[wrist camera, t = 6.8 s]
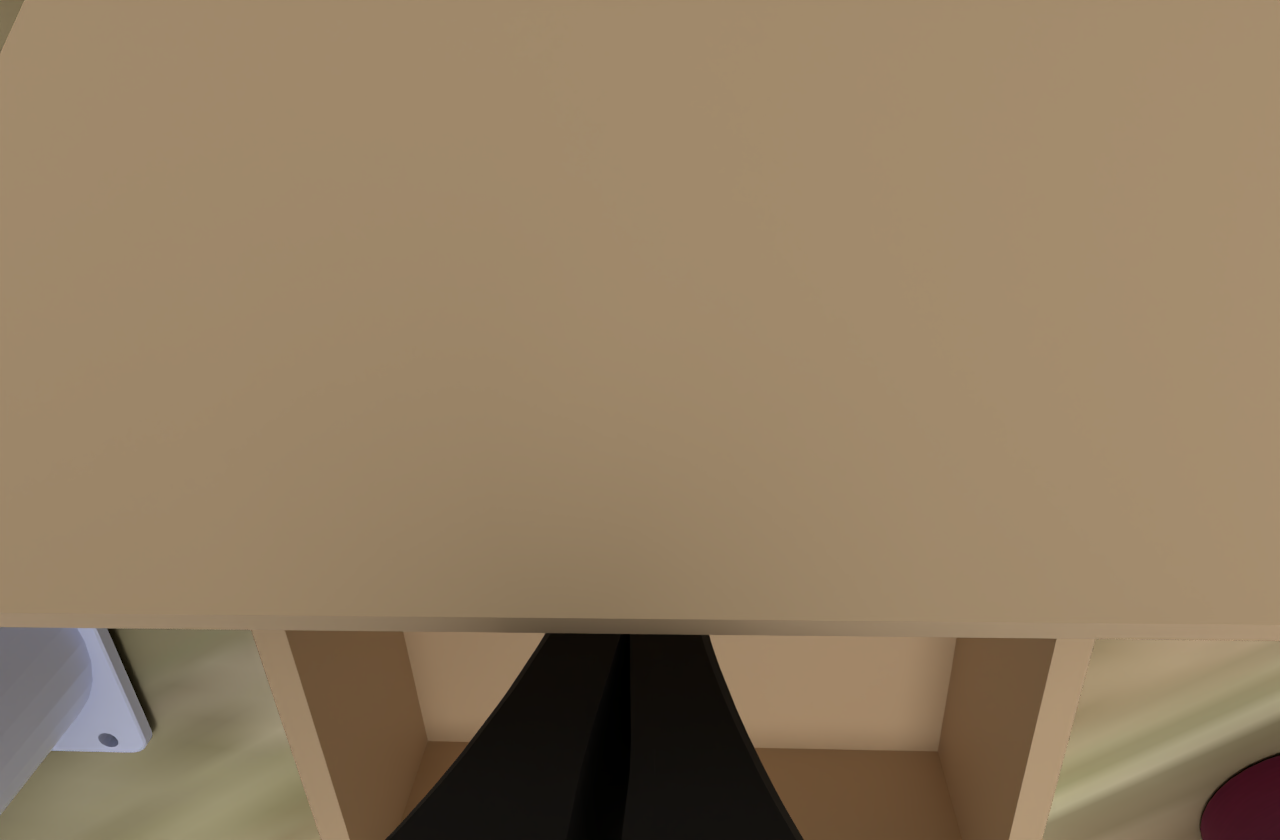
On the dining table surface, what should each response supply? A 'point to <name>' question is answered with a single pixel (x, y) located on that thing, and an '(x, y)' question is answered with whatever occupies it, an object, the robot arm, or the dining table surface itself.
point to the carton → (766, 702)
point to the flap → (642, 317)
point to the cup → (1246, 806)
